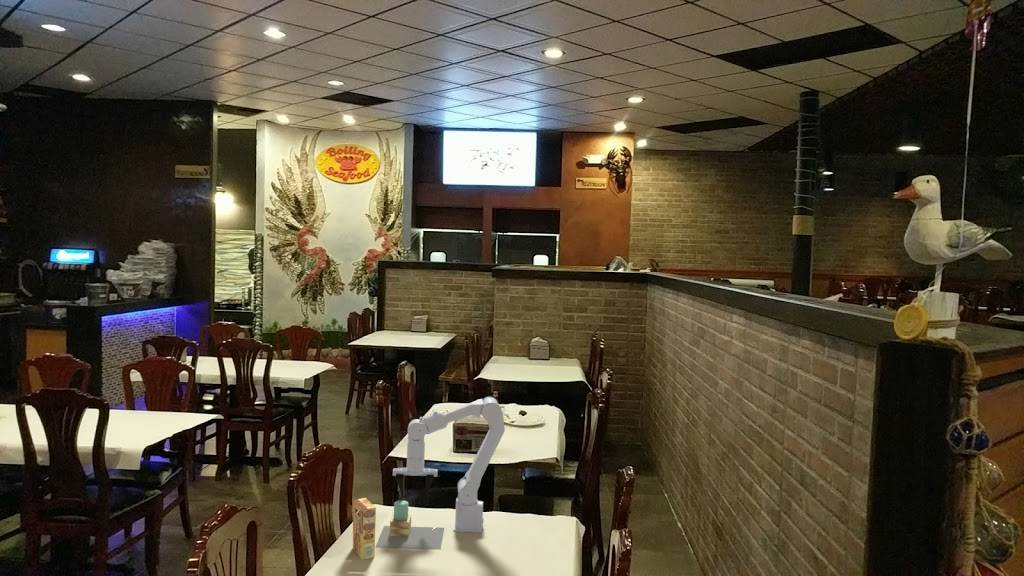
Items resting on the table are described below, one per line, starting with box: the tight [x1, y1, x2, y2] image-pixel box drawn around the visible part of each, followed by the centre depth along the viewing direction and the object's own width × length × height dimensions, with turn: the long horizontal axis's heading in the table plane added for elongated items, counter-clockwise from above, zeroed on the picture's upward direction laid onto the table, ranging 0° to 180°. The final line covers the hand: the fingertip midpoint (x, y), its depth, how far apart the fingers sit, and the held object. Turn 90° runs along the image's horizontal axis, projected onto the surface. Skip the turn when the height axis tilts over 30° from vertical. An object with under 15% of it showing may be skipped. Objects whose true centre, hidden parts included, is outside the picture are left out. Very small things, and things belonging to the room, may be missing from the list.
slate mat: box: [375, 525, 445, 550], centre depth 203 cm, size 20×16×1 cm
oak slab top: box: [389, 513, 412, 529], centre depth 206 cm, size 6×6×2 cm
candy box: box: [352, 497, 377, 561], centre depth 191 cm, size 9×4×15 cm, turn 33°
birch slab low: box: [390, 523, 412, 536], centre depth 206 cm, size 6×6×2 cm
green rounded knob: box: [393, 500, 409, 521], centre depth 206 cm, size 5×5×5 cm
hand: (414, 497), depth 211 cm, fingers open, 7 cm apart
